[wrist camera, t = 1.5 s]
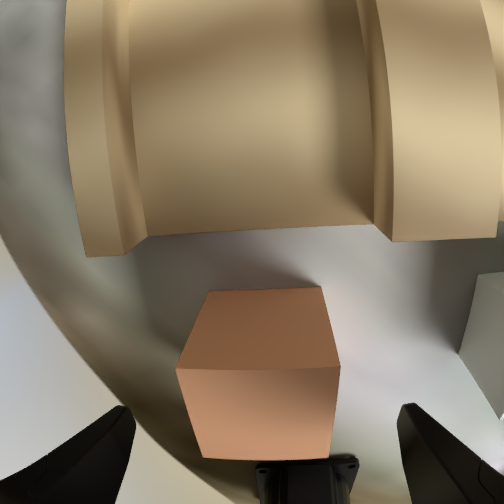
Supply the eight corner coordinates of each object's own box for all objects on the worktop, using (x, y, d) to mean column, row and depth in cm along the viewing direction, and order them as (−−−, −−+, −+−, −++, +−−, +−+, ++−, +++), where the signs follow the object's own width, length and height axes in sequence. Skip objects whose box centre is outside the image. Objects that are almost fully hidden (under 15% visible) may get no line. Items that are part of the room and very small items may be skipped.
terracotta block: (318, 372, 14) (328, 457, 9) (222, 374, 15) (203, 457, 10) (320, 285, 13) (340, 365, 8) (209, 290, 13) (174, 368, 8)
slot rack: (576, 216, 10) (611, 232, 7) (124, 231, 12) (86, 257, 10) (558, 9, 6) (589, 0, 3) (109, -30, 8) (75, -56, 6)
